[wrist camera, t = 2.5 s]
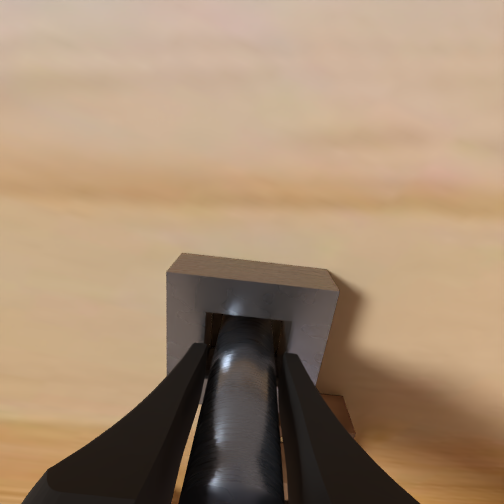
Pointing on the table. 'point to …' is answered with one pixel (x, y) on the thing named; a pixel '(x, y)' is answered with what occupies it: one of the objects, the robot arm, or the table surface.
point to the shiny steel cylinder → (238, 421)
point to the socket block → (249, 306)
